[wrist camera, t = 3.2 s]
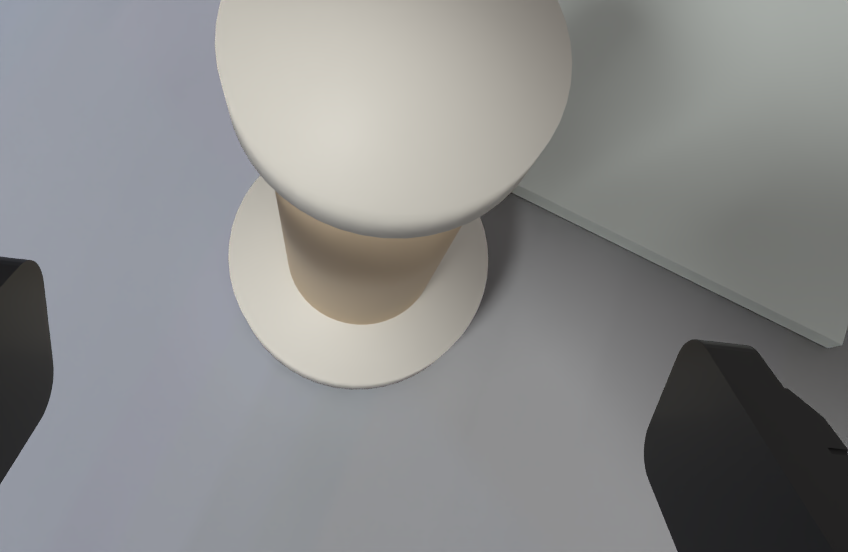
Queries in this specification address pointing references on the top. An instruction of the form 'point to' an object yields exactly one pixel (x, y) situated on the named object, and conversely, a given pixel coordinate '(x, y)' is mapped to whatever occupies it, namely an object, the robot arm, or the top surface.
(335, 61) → the stool
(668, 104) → the mat
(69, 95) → the top surface
